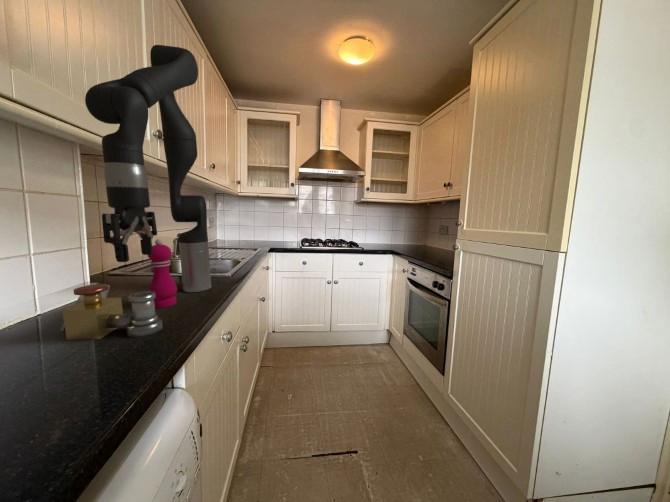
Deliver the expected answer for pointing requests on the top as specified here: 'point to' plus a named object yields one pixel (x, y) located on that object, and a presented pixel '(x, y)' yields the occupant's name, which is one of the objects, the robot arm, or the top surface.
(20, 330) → the top surface
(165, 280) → the pepper mill
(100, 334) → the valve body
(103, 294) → the hinge
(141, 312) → the door knob
